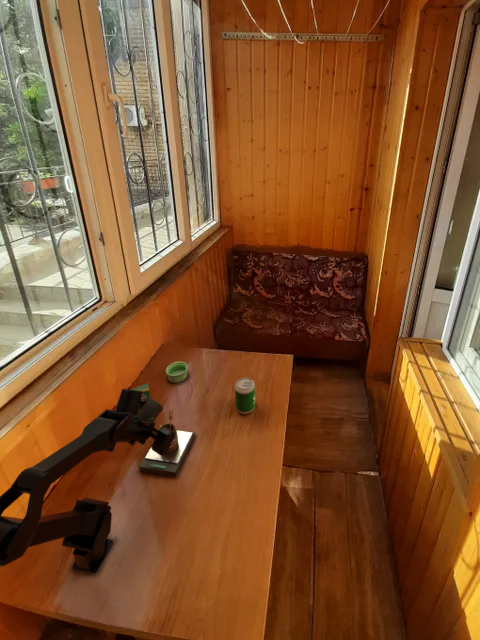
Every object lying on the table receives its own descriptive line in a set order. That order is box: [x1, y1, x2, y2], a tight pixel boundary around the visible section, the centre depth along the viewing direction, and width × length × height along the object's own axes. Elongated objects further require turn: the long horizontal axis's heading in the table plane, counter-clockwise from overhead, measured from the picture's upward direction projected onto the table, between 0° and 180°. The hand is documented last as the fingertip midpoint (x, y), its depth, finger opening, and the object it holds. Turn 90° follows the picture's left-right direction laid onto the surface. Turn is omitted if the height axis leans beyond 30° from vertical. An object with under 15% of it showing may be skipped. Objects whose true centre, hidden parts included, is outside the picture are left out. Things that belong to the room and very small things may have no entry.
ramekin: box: [165, 361, 189, 384], centre depth 135 cm, size 9×9×4 cm
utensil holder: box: [157, 409, 178, 453], centre depth 100 cm, size 6×6×12 cm
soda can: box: [234, 377, 257, 415], centre depth 118 cm, size 8×8×12 cm
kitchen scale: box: [138, 429, 196, 478], centre depth 102 cm, size 14×12×2 cm
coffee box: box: [129, 382, 152, 399], centre depth 113 cm, size 8×3×13 cm, turn 121°
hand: (164, 430), depth 99 cm, fingers open, 9 cm apart
